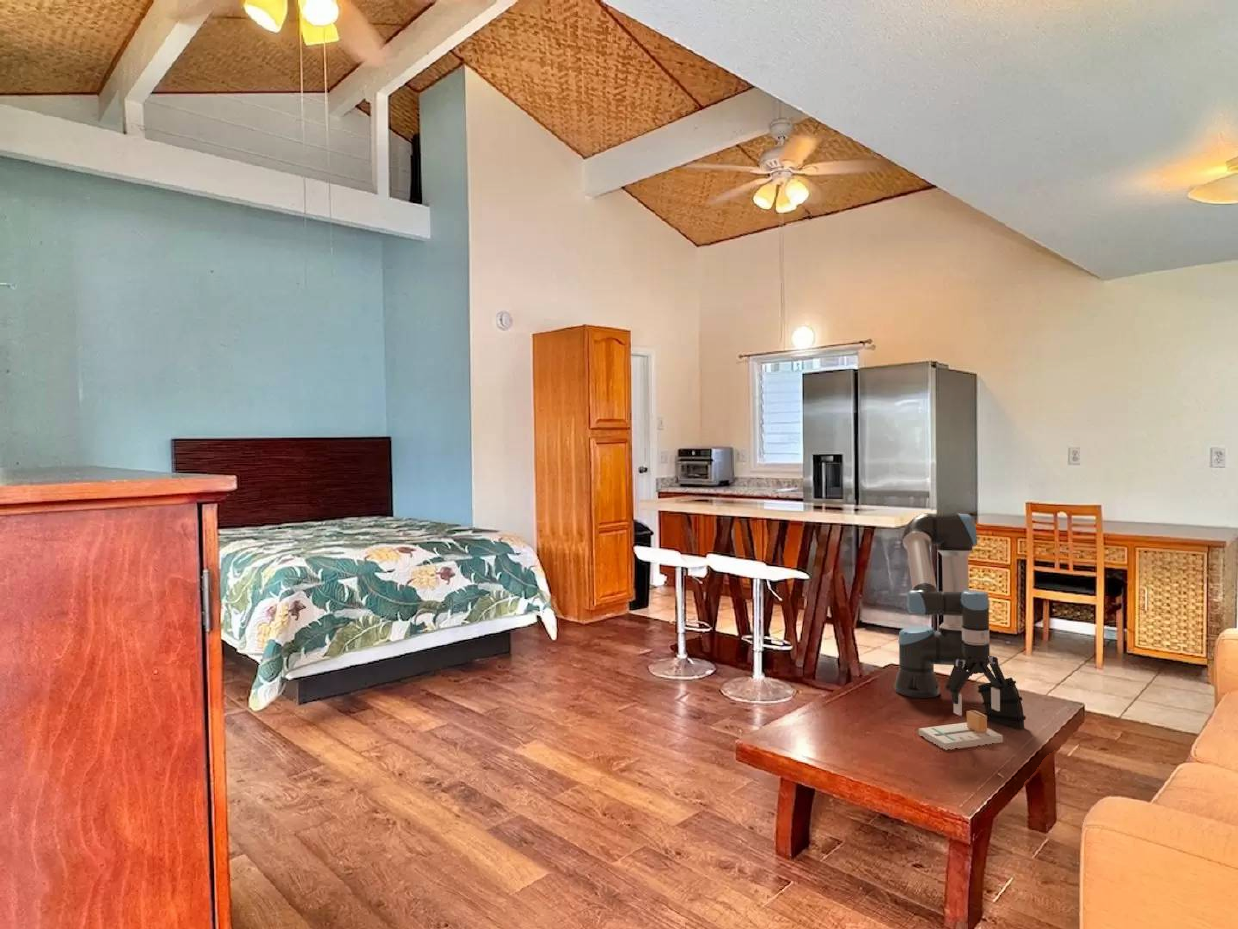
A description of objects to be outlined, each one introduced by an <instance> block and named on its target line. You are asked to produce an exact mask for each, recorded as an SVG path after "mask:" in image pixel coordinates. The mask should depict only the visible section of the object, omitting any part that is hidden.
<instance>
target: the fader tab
mask: <svg viewBox="0 0 1238 929" xmlns="http://www.w3.org/2000/svg"><path fill="white" fill-rule="evenodd" d="M966 722H967V727H968V728H970V729H972V730H974V731H976V732H978V733H981V732H987V728H988V721H987V716H986V715H984V713H982V712H980V711H977V710H975V709H974V710H971V709H970V710H966Z"/></svg>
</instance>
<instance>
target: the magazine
mask: <svg viewBox="0 0 1238 929" xmlns="http://www.w3.org/2000/svg"><path fill="white" fill-rule="evenodd" d="M1005 680H1006V682H1007V686H1004V689H1003V690H1001V699H1000V711H996V710H994V709H992V708H991V687H994V686H993V685H992V684H991V682H990V681H989V682H987V683H983V684H980V685H978V686H977V687H978V688H977V689H978V690H977V693H978V694H980V695H981V697H982V700H983V702H982V703H981V704H982V706H984V709H985V710H984V711H985V713H983V714H984V715H986V716H987V720H988V721H987V722H990V721H991V723H995V724H999V725H1001V724H1002V725H1001V726H1005V725H1006V727H1008V728H1009V727H1010V728H1012V729H1017V730H1022V729H1024V728H1025V720H1026V719H1027V718H1026V715H1024V710H1023V704H1022V701H1023V697H1022V696H1020V694H1019V690H1018V688H1017V686H1016V684H1017V681H1016V680H1014V679H1013V677H1008V678H1005Z"/></svg>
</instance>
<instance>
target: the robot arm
mask: <svg viewBox="0 0 1238 929" xmlns="http://www.w3.org/2000/svg"><path fill="white" fill-rule="evenodd" d="M902 545H903V547H904V549H905V550H906V553H907V554H906V555H907V560H908V566H909V567H908V568H909V573H910V574H909V575H910V583H911V590H909V591H907V594H906V603H907V604H906V605H907V611H908V612H909V613H910V614H914V615H921V616H926V615H928V616H929V615H930V616H943V622H942V623H941V624H940V625H939V626H938V628H939V629H938V631H937V630H935V631H934V628H933V627H932V626H929V625H911V626H910V625H909V626H906V627H904V628H902V629H901V630H900V631H899V633H898V642H897V643H898V662H899V663H898V672H897V675H896V679H895V681H894V687H893V688H894V691H895V692H896V693H898V694H900V695H903V696H906V697H910V698H917V699H930V698H931V699H932V698H935V697H938V696H939V695H940V685H939V683H938V680H937V677H936V674H935V670H934V669H935V668H934V666H935V665H938V666H940V665H942V666H953V667H952V670H951V672H950V674H949V678H948V680H947V682H946V685H945V691H948V692H950V693H951V703H952V704H953V713H954V714H956V715H957V716H963V712H962V711H963V708H962V707H963V700H962V699H963V698H962V696H963V695H962V693H961V691H962V689H963V687H964V686H965V684H966V682H967V681H968V680H969V678H970V677H972V675H977V674H984V676H985V677H986V679H987V680H988V682H989V683H990V682H991V684H992V685H993V686H994V687H991V708H992V709H994V710H996V711H1000V699H1001V690H1003V689H1004V686H1007V682H1006V680H1005V679H1006V678H1005V676H1004V674H1003V672H1002V668H1001V667H1000V665H999V661H998V660H999V658H998V657H997V656H994V655H990V654H991V653H990V651H991V650H990V647H991V646H990V644H989V643H990V600H989V594H988V593H987V592H985V591H982V590H975V589H973V590H972V589H971V590H970V582H969V580H970V578H969V555H971V553H972V552H973V547H977V545H978V532H977V529H976V523H975V521H974V518H973V517H972V516H971V515H970V514H968V513H957V512H955V513H928V512H927V513H921V514H919V515H917V516H915V517H914V518H912V519H911V520H910V521H909V522H908V523H907V525H906V526H905V528H904V530H903V533H902ZM931 546H936V550H937V552H938V553H939V554H940V555H941V567H942V569H941V570H942V571H941V572H942V591H940V590H939V591H938V589H937V582H936V576H935V570H934V564H933V560H932V554H931ZM989 666H990V668H991V669H990V668H989Z"/></svg>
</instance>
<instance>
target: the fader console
mask: <svg viewBox="0 0 1238 929" xmlns="http://www.w3.org/2000/svg"><path fill="white" fill-rule="evenodd" d="M918 735H919V736H920V737H921V736H923V737H924V738H923V737H922V738H923V739H925V740H927V741H929V742H930V743H932V742H933V743H932V744H934V745H935V744H936V746H937V745H938V746H937V747H939V748H940V749H942V748H943V749H942V750H944V749H945V750H944V751H949V750H948V749H950V750H955V748H958V749H963V748H964V749H965V748H970V747H971V748H973V747H977V746H978V745H980V746H984V745H985V744H987V745H992V743H994V744H1000V743H1003V742H1004V735H1003V734H1001V733H998V732H996V731H994V730H992V729H991V728H988V727H987V732H981V733H978V732H976V731H974V730H972V729H970V728H968V727H967V721H966V722H959V723H952V724H944V725H936V726H928V727H920V728H918ZM985 746H986V745H985Z"/></svg>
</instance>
